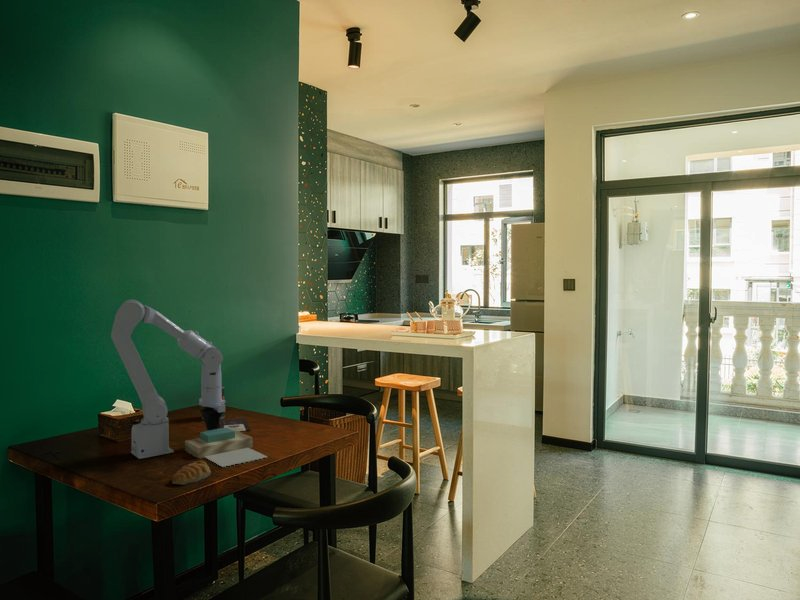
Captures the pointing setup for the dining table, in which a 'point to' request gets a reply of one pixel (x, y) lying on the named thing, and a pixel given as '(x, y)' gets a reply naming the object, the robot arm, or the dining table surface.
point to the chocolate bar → (234, 424)
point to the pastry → (191, 473)
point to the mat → (235, 457)
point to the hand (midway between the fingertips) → (212, 432)
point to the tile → (217, 435)
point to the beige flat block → (218, 445)
